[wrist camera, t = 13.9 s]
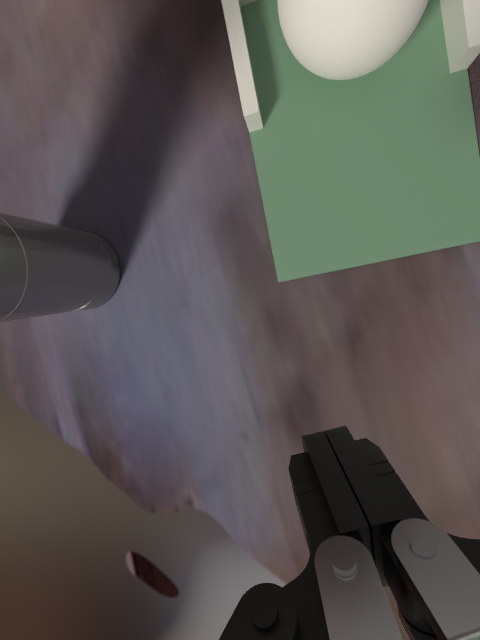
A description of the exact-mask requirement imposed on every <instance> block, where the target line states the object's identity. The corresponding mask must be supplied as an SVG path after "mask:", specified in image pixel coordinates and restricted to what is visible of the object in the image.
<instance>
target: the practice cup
mask: <svg viewBox="0 0 480 640" xmlns="http://www.w3.org/2000/svg"><path fill="white" fill-rule="evenodd" d="M221 1H222V6H223V11H224V17H225V22H226V27H227V32H228V37H229V42H230V48H231V53H232V58H233V63H234V68H235V74H236V79H237V84H238V89H239V94H240V99H241V105H242V110H243V115H244V118H245V121H246V124H247V127H248V130H249V133H250V138H251V143H252V149H253V154H254V159H255V164H256V169H257V174H258V180H259V185H260V190H261V195H262V200H263V206H264V211H265V216H266V221H267V226H268V232H269V237H270V242H271V247H272V252H273V257H274V263H275V268H276V273H277V278H278V282H282V281H287V280H292V279H297V278H302V277H307V276H312V275H317V274H322V273H327V272H331V271H336V270H341V269H346V268H351V267H356V266H361V265H366V264H371V263H376V262H380V261H385V260H390V259H395V258H400V257H405V256H410V255H415V254H420V253H424V252H429V251H434V250H439V249H444V248H449V247H454V246H459V245H464V244H469V243H473V242H478V241H480V156H479V149H478V142H477V135H476V127H475V120H474V113H473V105H472V98H471V91H470V83H469V76H468V69H467V68H468V67H469V66H470V64H471V63H472V62H473V61H474V59H475V58H476V57H477V56H478V54H479V53H480V0H429V1H428V3H427V6H426V9H425V11H424V13H423V15H422V17H421V19H420V21H419V23H418V25H417V26H416V28H415V30H414V31H413V33H412V34H411V36H410V37H409V39H408V40H407V41H406V43H405V44H404V45H403V46H402V47H401V48H400V50H399V51H398V52H397V53H396V54H395V55H394V56H393V57H392V58H391V59H389V60H388V61H387V62H386V63H384V64H383V65H382V66H380V67H379V68H377V69H376V70H374V71H372V72H370V73H368V74H366V75H364V76H361V77H358V78H354V79H349V80H331V79H326V78H322V77H320V76H318V75H315V74H314V73H312V72H310V71H309V70H307V69H306V68H305V67H304V66H303V65H302V64H300V63H299V61H298V60H297V59H296V58H295V57H294V55H293V54H292V52H291V50H290V49H289V47H288V45H287V43H286V40H285V38H284V36H283V32H282V29H281V26H280V21H279V15H278V4H277V0H221Z"/></svg>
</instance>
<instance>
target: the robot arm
mask: <svg viewBox="0 0 480 640" xmlns="http://www.w3.org/2000/svg"><path fill="white" fill-rule="evenodd" d="M119 278H120V268H119V262H118V259H117V256H116V254H115V252H114V250H113V248H112V247H111V246H110V245H109V243H108V242H107V241H105V240H104V239H103V238H102V237H100V236H98V235H96V234H94V233H89V232H85V231H80V230H76V229H71V228H68V227H63V226H58V225H54V224H49V223H44V222H40V221H35V220H30V219H26V218H21V217H16V216H12V215H7V214H2V213H0V322H4V321H11V320H17V319H24V318H31V317H37V316H44V315H51V314H58V313H64V312H72V311H79V310H85V309H91V308H96V307H99V306H101V305H103V304H104V303H106V302H107V301H108V300H109V299H110V298H111V297H112V296H113V294H114V293H115V291H116V289H117V287H118V283H119ZM302 442H303V447H304V453H300V454H296V455H291V460H290V464H289V473H290V478H291V483H292V487H293V492H294V497H295V501H296V505H297V509H298V512H299V516H300V520H301V523H302V527H303V530H304V534H305V538H306V541H307V545H308V549H309V552H310V558H309V561H308V564H307V566H306V568H305V569H304V571H303V572H302V573H301V574H300V575H299V576H298V577H297V578H295V579H294V580H293V581H291V582H290V583H288V584H287V585H285V586H284V587H280V586H278V585H276V584H272V583H262V584H258V585H255V586H254V587H252V588H250V589H249V590H248V591H247V592H246V593H245V594H244V595H243V596H242V598H241V600H240V601H239V603H238V605H237V607H236V609H235V610H234V612H233V614H232V616H231V618H230V620H229V622H228V624H227V626H226V628H225V629H224V631H223V633H222V635H221V637H220V639H219V640H402V637H401V634H400V632H399V629H398V626H397V623H396V621H395V618H394V615H393V612H392V610H391V607H390V604H389V601H388V599H387V596H386V593H385V591H384V588H383V587H384V586H389V587H390V589H391V591H392V593H393V596H394V598H395V600H396V603H397V613H398V617H399V620H400V622H401V624H402V626H403V628H404V630H405V632H406V634H407V636H408V638H409V640H480V540H477V539H467V538H460V537H457V536H453V535H451V534H448V533H446V532H445V531H444V530H443V529H442V528H440V527H439V526H437V525H436V524H434V523H432V522H430V521H429V520H428V519H427V517H426V516H425V515H424V513H423V512H422V511H421V509H420V508H419V506H418V505H417V503H416V502H415V500H414V499H413V497H412V496H411V494H410V493H409V491H408V490H407V488H406V487H405V485H404V484H403V482H402V481H401V479H400V478H399V476H398V475H397V474H396V473H395V470H394V469H393V467H392V466H391V464H390V463H389V462H388V460H387V458H386V457H385V455H384V454H383V452H382V451H381V449H380V448H379V447H378V446H377V445H375V444H374V443H372V442H371V441H369V440H368V439H367V438H364V439H360V440H354V439H353V437H352V435H351V434H350V432H349V430H348V429H347V427H346V426H343V427H338V428H334V429H330V430H326V431H324V432H323V431H322V432H317V433H313V434H309V435H304V436H302Z"/></svg>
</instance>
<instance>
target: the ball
mask: <svg viewBox="0 0 480 640" xmlns="http://www.w3.org/2000/svg"><path fill="white" fill-rule="evenodd" d="M428 1H429V0H277V4H278V15H279V21H280V26H281V29H282V32H283V36H284V38H285V40H286V43H287V45H288V47H289V49H290V50H291V52H292V54H293V55H294V57H295V58H296V59H297V60H298V61H299V63H300V64H302V65H303V66H304V67H305V68H306V69H307V70H309V71H310V72H312V73H314V74H315V75H318V76H320V77H322V78H326V79H331V80H349V79H354V78H358V77H361V76H364V75H366V74H368V73H370V72H372V71H374V70H376V69H377V68H379V67H380V66H382V65H383V64H384V63H386V62H387V61H388V60H389V59H391V58H392V57H393V56H394V55H395V54H396V53H397V52H398V51H399V50H400V48H401V47H402V46H403V45H404V44H405V43H406V41H407V40H408V39H409V37H410V36H411V34H412V33H413V31H414V30H415V28H416V26H417V25H418V23H419V21H420V19H421V17H422V15H423V13H424V11H425V9H426V6H427V3H428Z"/></svg>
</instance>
